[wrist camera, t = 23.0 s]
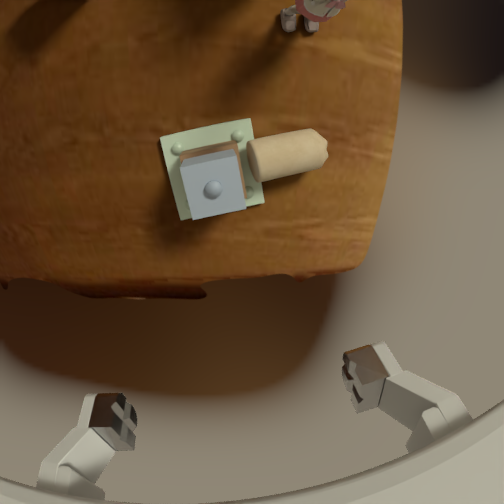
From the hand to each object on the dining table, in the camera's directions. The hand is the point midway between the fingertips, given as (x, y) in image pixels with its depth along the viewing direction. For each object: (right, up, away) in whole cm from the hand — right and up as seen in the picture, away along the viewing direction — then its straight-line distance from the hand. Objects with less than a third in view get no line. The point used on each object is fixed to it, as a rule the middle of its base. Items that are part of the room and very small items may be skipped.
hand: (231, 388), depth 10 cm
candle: (+1, +16, +27) cm, 32 cm away
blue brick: (-4, +14, +27) cm, 30 cm away
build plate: (-4, +16, +31) cm, 35 cm away
